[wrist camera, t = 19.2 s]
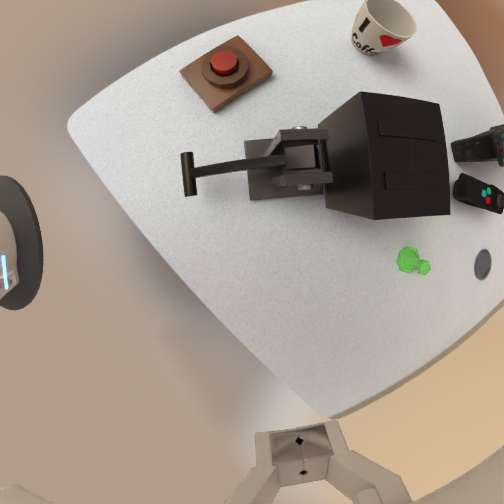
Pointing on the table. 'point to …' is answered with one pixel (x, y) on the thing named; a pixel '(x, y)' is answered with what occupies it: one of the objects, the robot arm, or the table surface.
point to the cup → (381, 26)
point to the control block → (226, 86)
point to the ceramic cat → (481, 147)
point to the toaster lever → (250, 164)
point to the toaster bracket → (278, 178)
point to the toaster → (386, 158)
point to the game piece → (412, 261)
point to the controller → (478, 194)
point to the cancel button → (224, 62)
